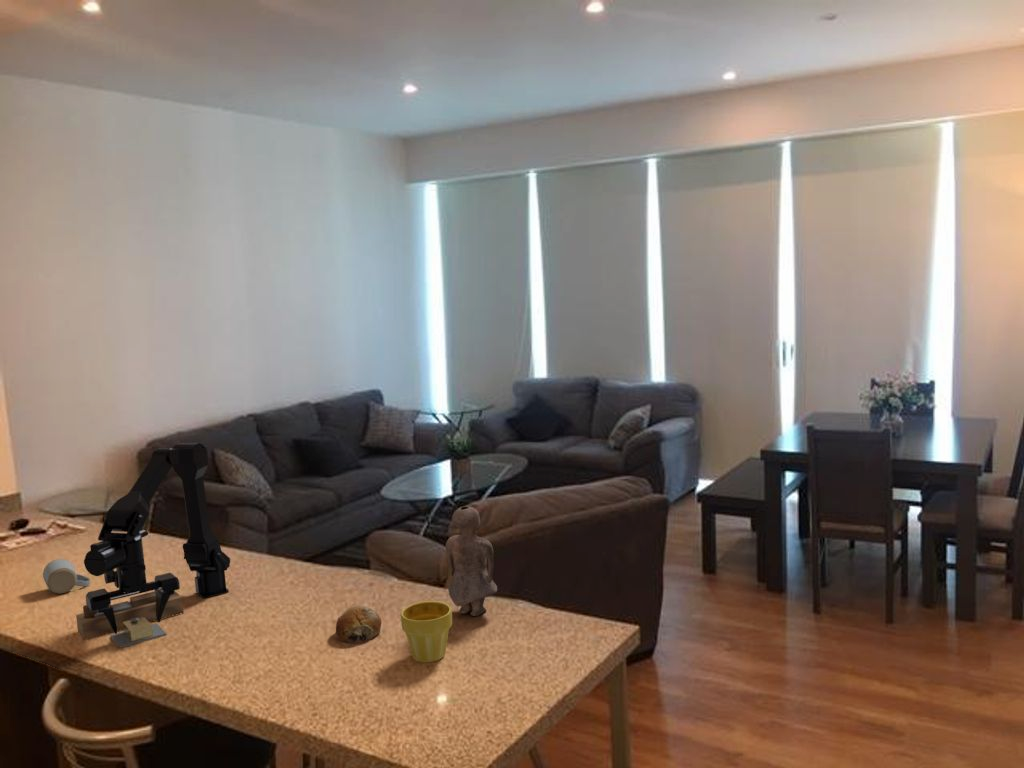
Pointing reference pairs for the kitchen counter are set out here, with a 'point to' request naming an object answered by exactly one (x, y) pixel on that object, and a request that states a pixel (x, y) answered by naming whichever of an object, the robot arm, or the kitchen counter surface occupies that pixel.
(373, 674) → the kitchen counter surface
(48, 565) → the ceramic mug
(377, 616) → the bread roll
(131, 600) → the plane body
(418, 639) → the plant pot
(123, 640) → the mat
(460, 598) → the clay figurine
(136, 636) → the lever cap
